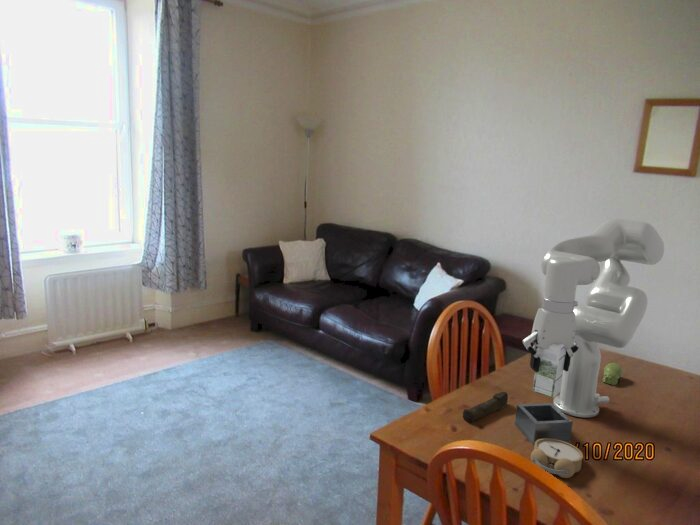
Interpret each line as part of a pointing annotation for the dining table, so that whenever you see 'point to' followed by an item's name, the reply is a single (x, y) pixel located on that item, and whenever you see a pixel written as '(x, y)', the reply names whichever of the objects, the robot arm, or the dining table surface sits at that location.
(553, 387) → the syrup box
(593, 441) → the dining table surface
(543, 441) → the alarm clock
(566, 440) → the socket holder
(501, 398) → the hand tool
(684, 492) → the dining table surface
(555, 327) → the robot arm
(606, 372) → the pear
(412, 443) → the dining table surface
